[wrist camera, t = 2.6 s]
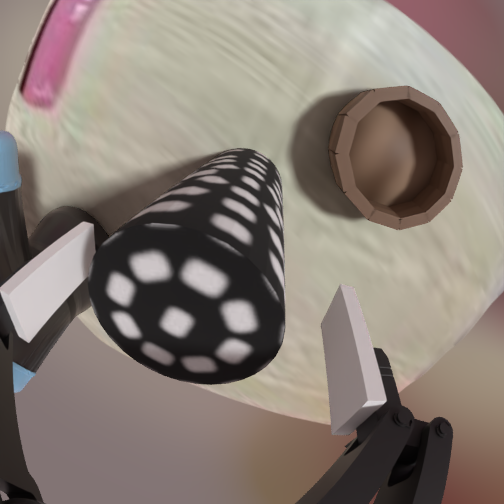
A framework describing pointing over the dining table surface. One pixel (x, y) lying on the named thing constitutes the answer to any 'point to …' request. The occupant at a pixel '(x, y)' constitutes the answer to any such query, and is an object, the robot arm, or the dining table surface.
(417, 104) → the holder
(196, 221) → the white-spotted black cylinder
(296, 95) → the dining table surface
